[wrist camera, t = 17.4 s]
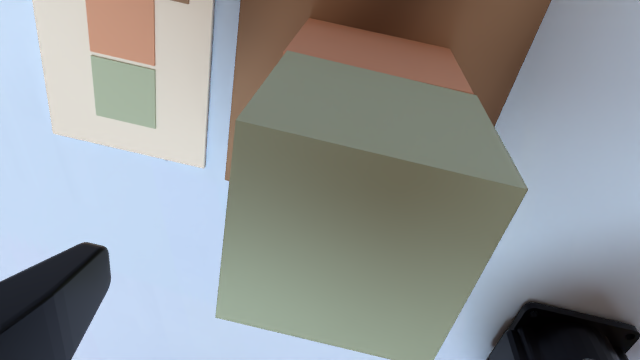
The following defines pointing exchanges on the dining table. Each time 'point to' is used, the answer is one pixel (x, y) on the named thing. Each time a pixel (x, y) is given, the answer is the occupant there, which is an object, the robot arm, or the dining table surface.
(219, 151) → the dining table surface
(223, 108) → the dining table surface
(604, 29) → the dining table surface
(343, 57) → the terracotta block
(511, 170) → the sage block
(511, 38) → the walnut plate
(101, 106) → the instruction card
